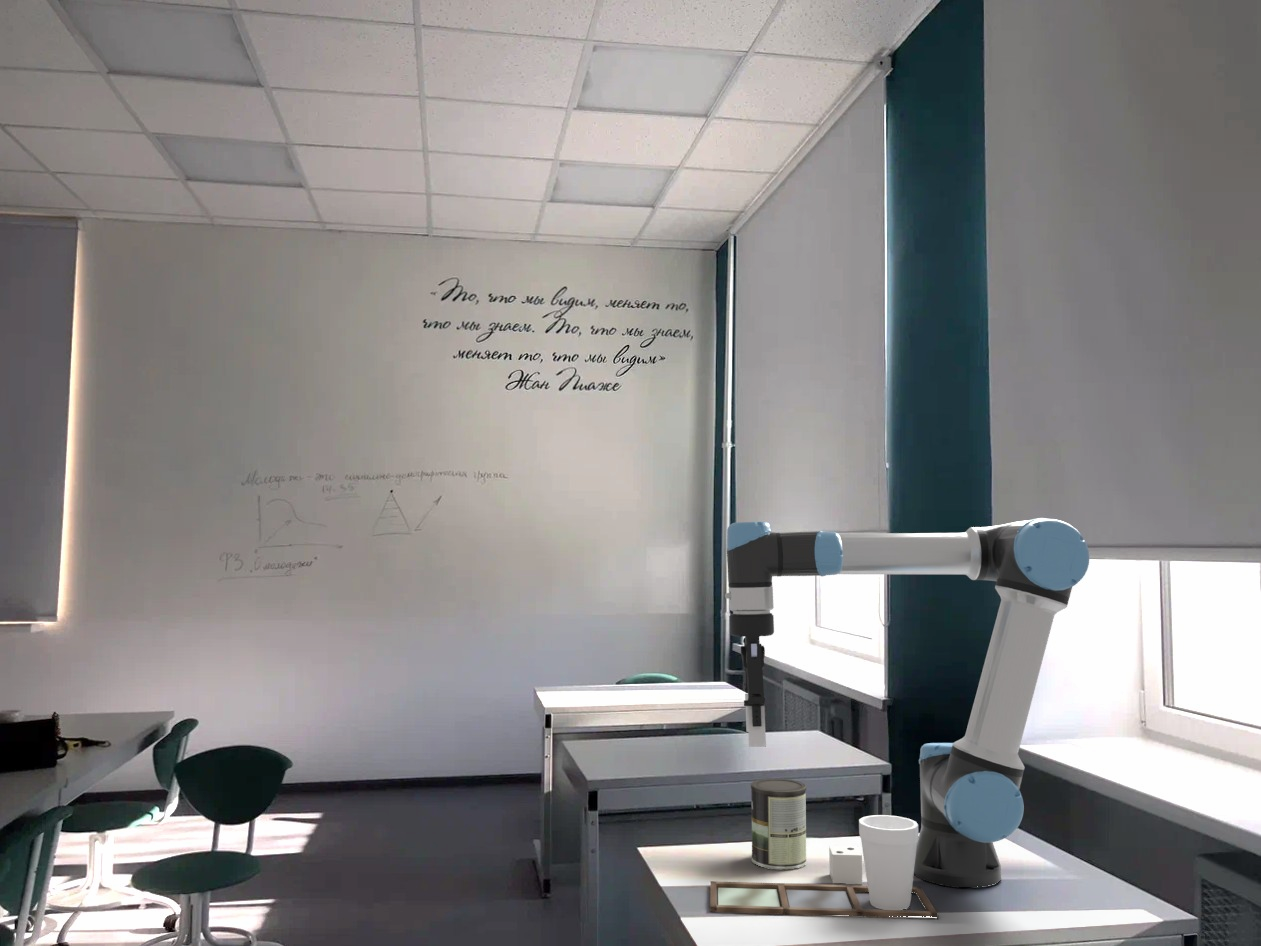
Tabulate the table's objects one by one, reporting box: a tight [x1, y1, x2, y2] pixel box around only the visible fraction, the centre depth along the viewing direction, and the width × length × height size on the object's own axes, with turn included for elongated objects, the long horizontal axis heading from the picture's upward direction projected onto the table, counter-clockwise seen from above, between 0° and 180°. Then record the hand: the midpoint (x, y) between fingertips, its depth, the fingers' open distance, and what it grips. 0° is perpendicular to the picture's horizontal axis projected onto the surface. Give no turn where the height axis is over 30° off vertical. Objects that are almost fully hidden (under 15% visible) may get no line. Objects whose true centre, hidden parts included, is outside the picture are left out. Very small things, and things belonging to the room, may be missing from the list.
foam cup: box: [858, 814, 919, 910], centre depth 162 cm, size 10×9×13 cm
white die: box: [828, 845, 863, 885], centre depth 174 cm, size 5×5×5 cm
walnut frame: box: [709, 880, 939, 918], centre depth 162 cm, size 36×12×1 cm, turn 85°
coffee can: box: [750, 778, 808, 870], centre depth 184 cm, size 10×10×14 cm
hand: (755, 738), depth 167 cm, fingers open, 13 cm apart
